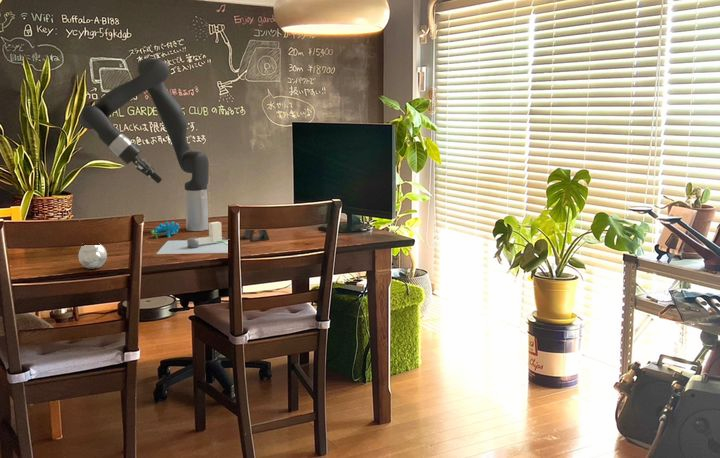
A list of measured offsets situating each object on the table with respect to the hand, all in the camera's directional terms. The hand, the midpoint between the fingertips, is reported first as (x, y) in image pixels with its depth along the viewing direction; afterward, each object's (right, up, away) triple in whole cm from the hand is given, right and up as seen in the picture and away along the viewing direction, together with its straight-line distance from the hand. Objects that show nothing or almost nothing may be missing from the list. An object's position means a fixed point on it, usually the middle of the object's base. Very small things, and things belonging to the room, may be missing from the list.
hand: (160, 181), depth 269 cm
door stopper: (+34, -22, +15) cm, 43 cm away
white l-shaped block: (+18, -24, -1) cm, 30 cm away
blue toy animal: (-2, -22, +16) cm, 27 cm away
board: (+15, -25, -3) cm, 30 cm away
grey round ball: (-13, -31, -34) cm, 48 cm away
